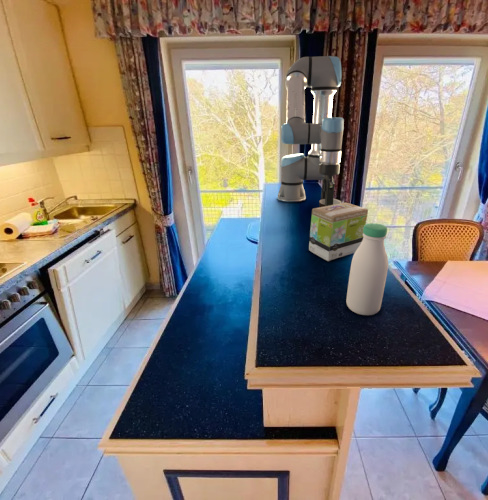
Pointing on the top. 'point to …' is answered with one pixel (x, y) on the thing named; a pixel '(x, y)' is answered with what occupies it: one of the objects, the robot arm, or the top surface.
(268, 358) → the top surface
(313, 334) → the top surface
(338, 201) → the coffee mug
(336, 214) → the tea box
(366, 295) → the milk bottle
